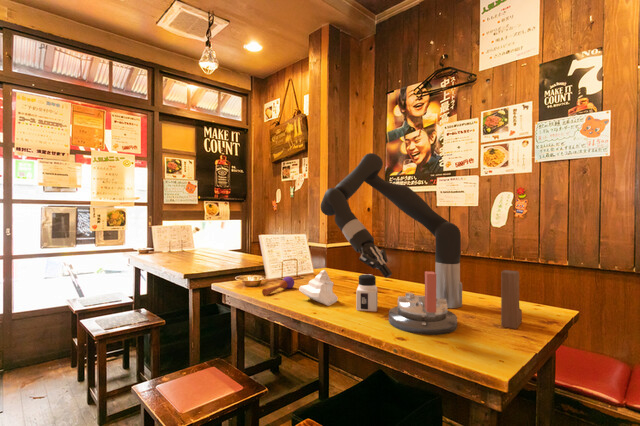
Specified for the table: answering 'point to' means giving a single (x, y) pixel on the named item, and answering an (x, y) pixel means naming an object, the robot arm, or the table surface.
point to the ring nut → (423, 303)
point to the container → (366, 293)
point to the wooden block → (510, 299)
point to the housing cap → (423, 324)
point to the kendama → (280, 286)
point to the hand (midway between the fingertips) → (389, 275)
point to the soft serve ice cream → (320, 289)
